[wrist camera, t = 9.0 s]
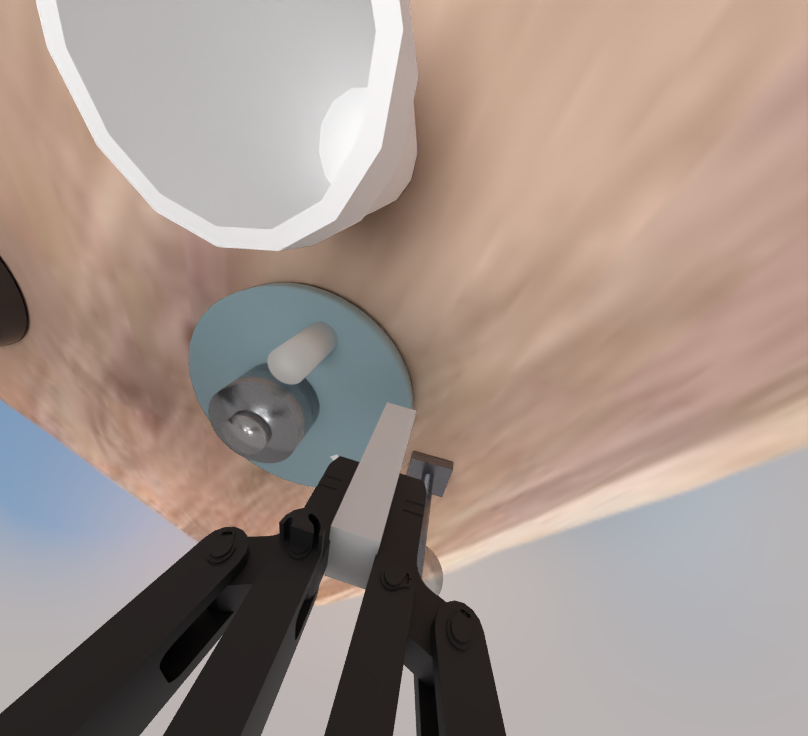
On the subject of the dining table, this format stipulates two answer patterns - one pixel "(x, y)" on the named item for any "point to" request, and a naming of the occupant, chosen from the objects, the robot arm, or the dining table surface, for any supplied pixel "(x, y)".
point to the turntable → (304, 366)
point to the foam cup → (246, 108)
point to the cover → (263, 415)
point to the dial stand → (435, 482)
